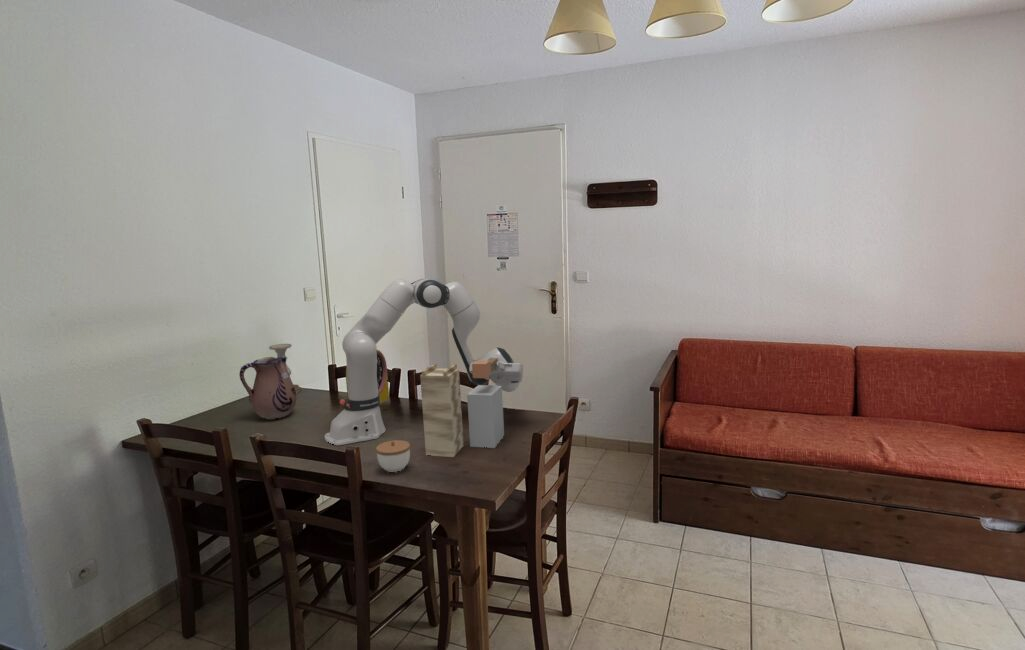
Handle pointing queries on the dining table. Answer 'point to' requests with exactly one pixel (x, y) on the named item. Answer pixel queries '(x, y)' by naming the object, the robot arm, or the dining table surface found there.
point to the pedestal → (485, 416)
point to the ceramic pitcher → (270, 388)
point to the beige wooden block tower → (442, 411)
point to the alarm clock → (380, 377)
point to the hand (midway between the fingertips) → (490, 363)
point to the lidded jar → (393, 455)
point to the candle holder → (280, 351)
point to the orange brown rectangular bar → (483, 368)
